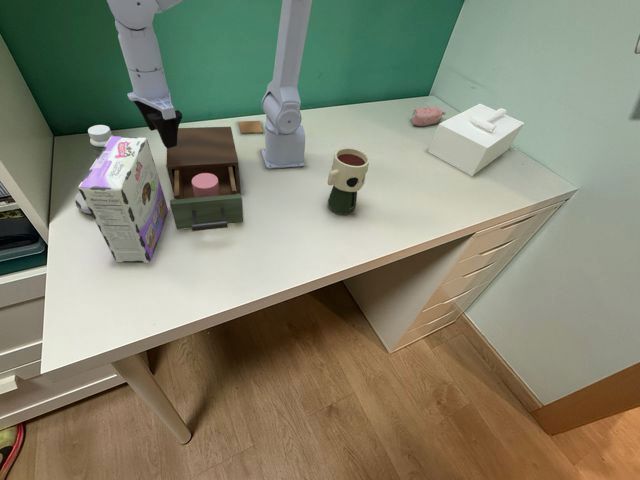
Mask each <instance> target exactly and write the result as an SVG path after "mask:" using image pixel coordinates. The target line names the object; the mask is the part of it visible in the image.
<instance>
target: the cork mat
mask: <svg viewBox="0 0 640 480" xmlns="http://www.w3.org/2000/svg"><path fill="white" fill-rule="evenodd" d="M238 127H239V130H240V131H239V132H240V134H241V135H251V134H252V135H254V134H255V135H258V134H259V135H260V134H264V130H263V127H262V124H261V121H260V120H250V121H248V120H246V121H244V120H242V121H238Z"/></svg>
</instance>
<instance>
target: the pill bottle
mask: <svg viewBox="0 0 640 480" xmlns="http://www.w3.org/2000/svg"><path fill="white" fill-rule="evenodd" d="M87 133H88V136H89V138H90V139H89V142H90V145H91V148H92V150H93V152H94V154H95V156H96V158H97V157H98V156H99V154H100V153H101V151H102V150H103V148H104V146H105V145H106V143H107V142H108V140H109V138H110V137H111V136H114V135H113V134H112V130H111V128H110V126H108V125H105V124H95V125H93V126H90V127H89V128H88V129H87Z"/></svg>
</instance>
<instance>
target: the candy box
mask: <svg viewBox="0 0 640 480" xmlns="http://www.w3.org/2000/svg"><path fill="white" fill-rule="evenodd" d="M77 188H78V191H79V193H81V195H82V197H83V198H84V200H85V202H86V204H87V206H88V208H89V210H90V212H91V214H92V216H91V217H92V218H93V220H94V222H95V224H96V226H97V228H98V229H99V232H100V233H101V236H102V237H103V239H104V241H105V243H106V245H107V247H108V250H110V253H111V255H112V257H113V258H114V261H115V262H116V263H136V264H137V263H139V264H141V263H142V264H149V263H150V262H152V259H153V257H154V253H155V250H156V247H157V245H158V241H159V238H160V236H161V232H162V229H163V226H164V224H165V223H164V222H165V219H166V217H167V214H168V211H169V208H168V203H167V201H166V197H165V194H164V190H163V189H162V185H161V181H160V178H159V174H158V170H157V167H156V164H155V161H154V156H153V154H152V150H151V147H150V143H149V141H148V138H147V137H136V136H117V135H116V136H115V135H113V136H111V137H110V138H109V140H108V142H107V143H106V145H105V146H104V148H103V150H102V151H101V153H100V154H99V156H98V157H96V159H95V161H94V162H93V164H92V165H91V166H90V168H89V170H88V171H87V173H86V174H85V176H84V178H83V179H82V181H81V182H80V183H79V185H78V186H77Z"/></svg>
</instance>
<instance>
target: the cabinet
mask: <svg viewBox="0 0 640 480" xmlns="http://www.w3.org/2000/svg"><path fill="white" fill-rule="evenodd" d="M237 153H238V152H237V147H236V144H235V140H234V134H233V130H232V127H231V126H203V127H178V135H177V146H175V147H171V148H166V161H165V162H166V163H165V167H166V172H167V175H168V179H169V182H170V186H171V191H172V194H173V198H174V199H175V196H174V191H175V169H186V168H203V167H220V166H232V168H233V174H234V179H235V185H236V190H237V194H242V193H241V192H242V191H241V180H240V163H239V158H238V154H237Z"/></svg>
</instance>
